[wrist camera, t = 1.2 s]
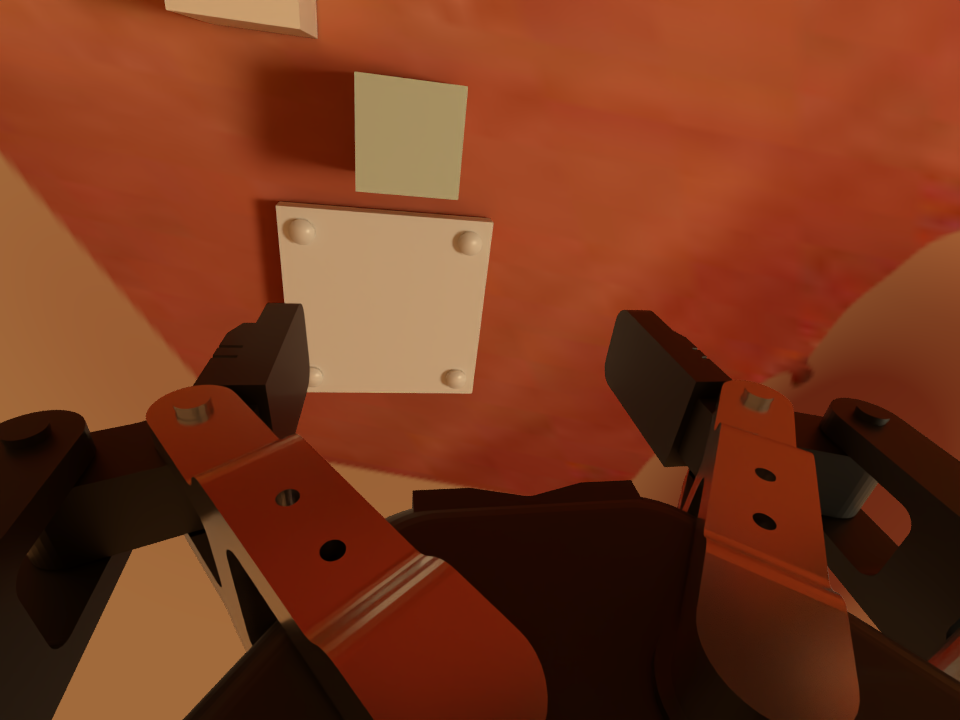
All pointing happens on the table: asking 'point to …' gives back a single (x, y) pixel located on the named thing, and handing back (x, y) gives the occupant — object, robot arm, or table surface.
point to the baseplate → (386, 295)
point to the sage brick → (408, 136)
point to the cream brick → (253, 14)
